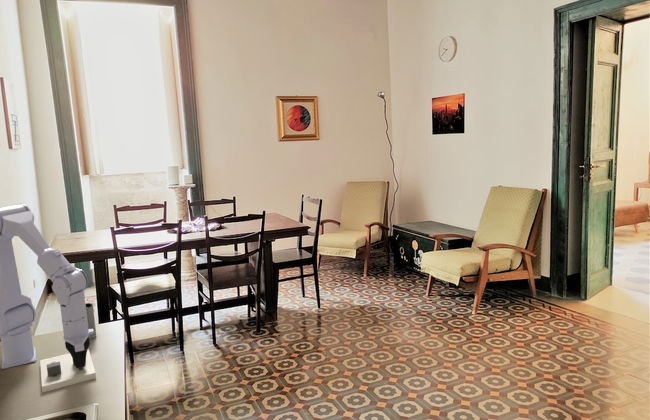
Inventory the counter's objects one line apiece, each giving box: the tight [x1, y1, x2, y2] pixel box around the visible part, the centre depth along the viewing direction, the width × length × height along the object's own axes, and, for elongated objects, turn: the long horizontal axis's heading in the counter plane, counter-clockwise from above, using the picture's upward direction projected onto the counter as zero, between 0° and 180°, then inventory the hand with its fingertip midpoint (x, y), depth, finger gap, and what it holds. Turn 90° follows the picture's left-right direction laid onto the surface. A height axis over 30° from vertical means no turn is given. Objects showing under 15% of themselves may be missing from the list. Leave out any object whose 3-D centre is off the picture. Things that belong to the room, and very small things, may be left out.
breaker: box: [47, 362, 61, 377], centre depth 124 cm, size 2×3×2 cm, turn 121°
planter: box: [85, 302, 97, 340], centre depth 148 cm, size 4×4×10 cm
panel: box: [39, 348, 97, 393], centre depth 128 cm, size 16×12×2 cm
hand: (80, 366), depth 127 cm, fingers closed
